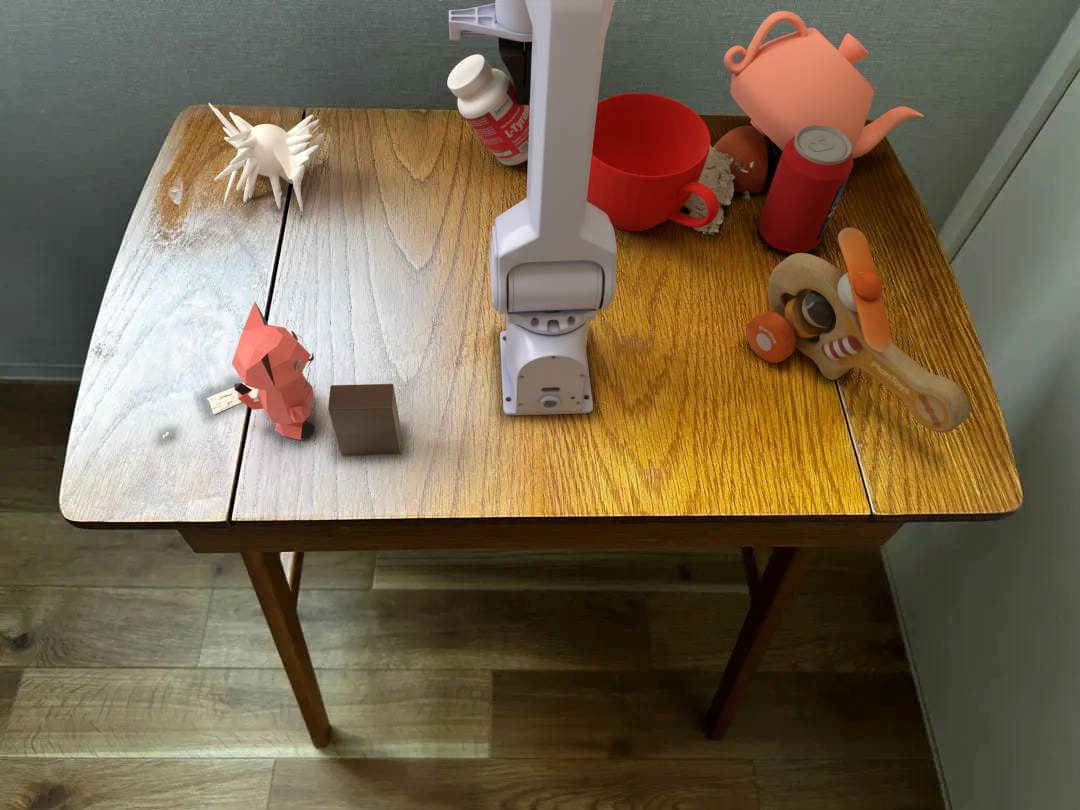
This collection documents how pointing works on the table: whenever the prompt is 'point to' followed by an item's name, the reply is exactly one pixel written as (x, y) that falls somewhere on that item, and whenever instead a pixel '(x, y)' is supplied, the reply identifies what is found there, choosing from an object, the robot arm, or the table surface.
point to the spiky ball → (269, 154)
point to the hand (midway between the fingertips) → (522, 99)
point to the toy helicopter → (849, 330)
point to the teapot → (807, 86)
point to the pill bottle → (492, 108)
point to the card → (226, 400)
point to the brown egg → (745, 157)
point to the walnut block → (365, 419)
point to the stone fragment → (715, 189)
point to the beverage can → (806, 188)
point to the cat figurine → (275, 375)
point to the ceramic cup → (648, 161)
